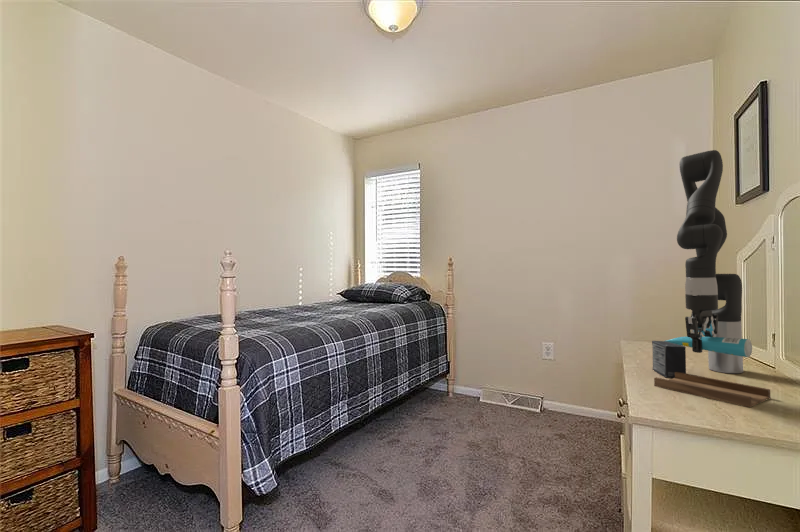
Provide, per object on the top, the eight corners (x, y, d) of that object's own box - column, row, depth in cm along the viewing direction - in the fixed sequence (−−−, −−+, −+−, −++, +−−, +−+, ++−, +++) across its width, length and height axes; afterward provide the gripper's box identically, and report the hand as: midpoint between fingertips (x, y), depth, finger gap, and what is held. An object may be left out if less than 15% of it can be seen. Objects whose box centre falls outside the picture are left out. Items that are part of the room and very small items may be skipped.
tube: (754, 356, 107) (677, 346, 124) (754, 338, 108) (677, 330, 124) (742, 358, 104) (664, 347, 120) (742, 339, 104) (664, 331, 121)
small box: (688, 378, 127) (687, 346, 127) (665, 378, 129) (664, 345, 129) (672, 370, 138) (671, 340, 138) (651, 370, 139) (650, 340, 139)
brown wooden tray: (676, 379, 127) (676, 371, 127) (770, 398, 107) (770, 389, 107) (654, 385, 121) (654, 377, 121) (749, 407, 101) (749, 397, 101)
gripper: (698, 291, 122) (700, 346, 122) (673, 293, 115) (675, 351, 115) (728, 292, 115) (730, 350, 115) (703, 294, 108) (705, 356, 108)
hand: (703, 350), depth 115 cm, fingers closed on tube, 6 cm apart
